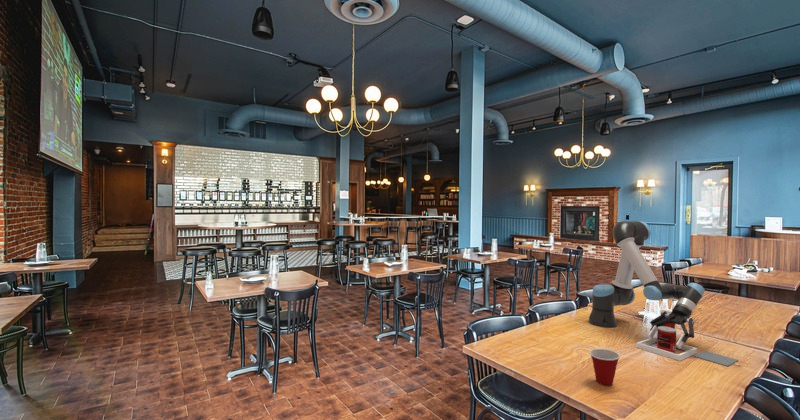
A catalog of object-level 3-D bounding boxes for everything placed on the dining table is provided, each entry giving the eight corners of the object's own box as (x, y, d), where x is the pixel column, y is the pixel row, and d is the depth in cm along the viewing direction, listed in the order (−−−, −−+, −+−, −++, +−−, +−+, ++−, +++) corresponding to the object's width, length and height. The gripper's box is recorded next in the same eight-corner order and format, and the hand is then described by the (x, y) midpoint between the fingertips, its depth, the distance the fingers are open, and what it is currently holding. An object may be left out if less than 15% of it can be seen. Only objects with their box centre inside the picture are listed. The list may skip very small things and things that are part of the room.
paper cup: (670, 332, 215) (671, 308, 215) (679, 337, 208) (680, 312, 208) (656, 332, 216) (656, 308, 216) (664, 336, 209) (665, 311, 209)
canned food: (672, 348, 190) (672, 327, 190) (678, 354, 183) (678, 332, 183) (654, 346, 193) (655, 325, 193) (659, 352, 185) (660, 330, 185)
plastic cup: (583, 376, 156) (583, 348, 156) (607, 376, 157) (608, 347, 157) (599, 389, 145) (599, 358, 145) (625, 388, 146) (626, 358, 146)
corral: (636, 347, 191) (636, 342, 191) (654, 341, 201) (654, 336, 201) (679, 360, 175) (679, 355, 175) (697, 353, 185) (697, 348, 185)
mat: (693, 356, 180) (693, 355, 180) (704, 351, 187) (704, 350, 187) (727, 366, 169) (727, 365, 169) (738, 360, 176) (738, 359, 176)
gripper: (714, 320, 182) (694, 355, 176) (662, 307, 205) (642, 338, 200) (708, 310, 180) (687, 345, 174) (655, 298, 203) (636, 329, 198)
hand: (663, 341), depth 187 cm, fingers open, 13 cm apart
